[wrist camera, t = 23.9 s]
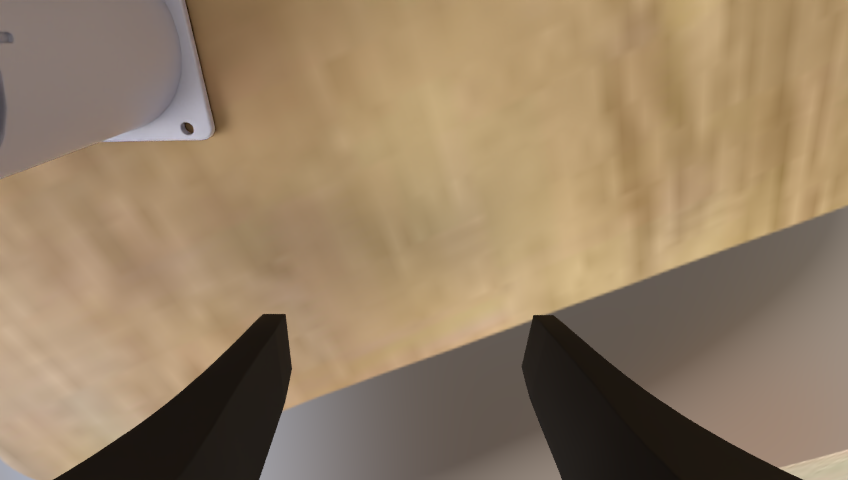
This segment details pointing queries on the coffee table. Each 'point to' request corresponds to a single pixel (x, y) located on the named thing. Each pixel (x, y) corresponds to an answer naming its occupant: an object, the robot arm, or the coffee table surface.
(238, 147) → the coffee table surface
